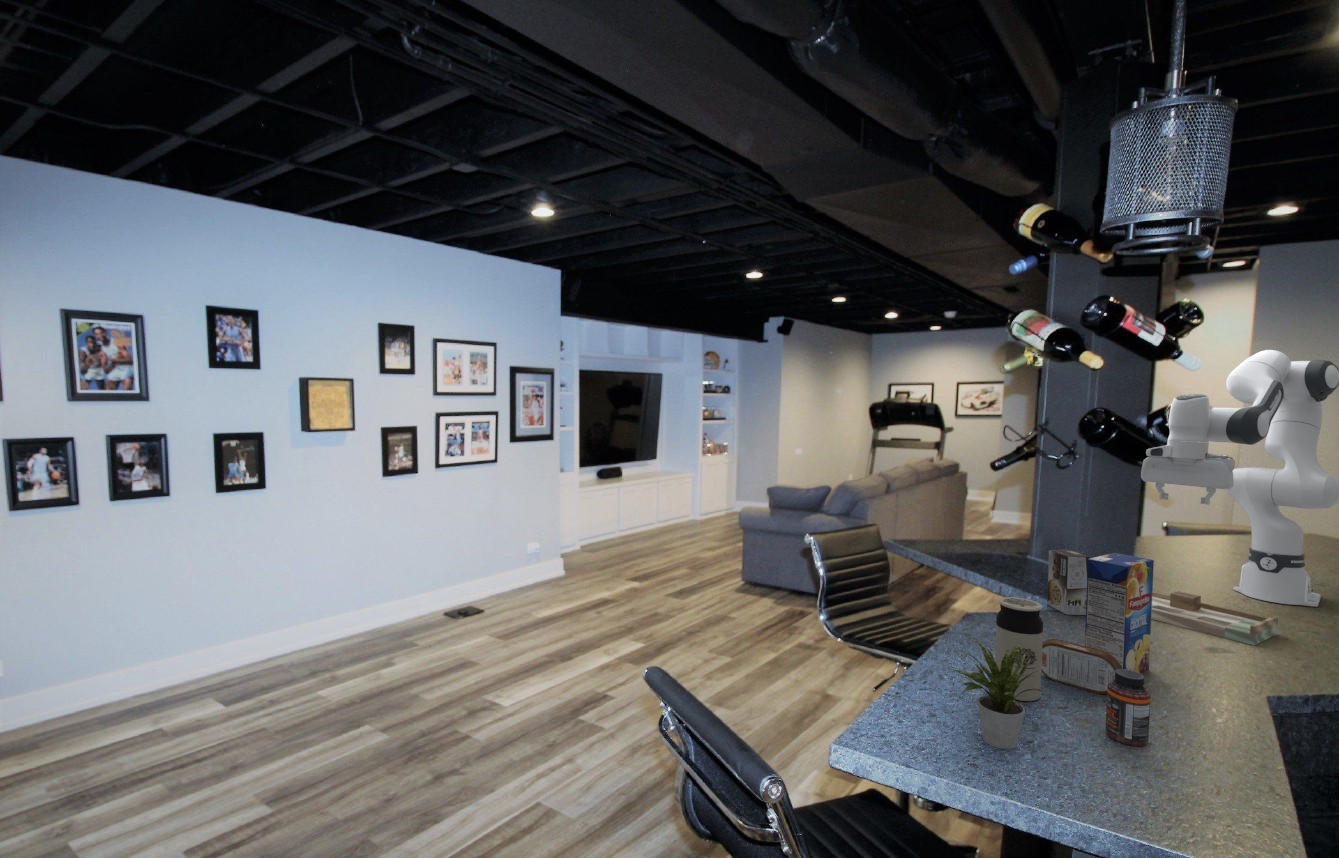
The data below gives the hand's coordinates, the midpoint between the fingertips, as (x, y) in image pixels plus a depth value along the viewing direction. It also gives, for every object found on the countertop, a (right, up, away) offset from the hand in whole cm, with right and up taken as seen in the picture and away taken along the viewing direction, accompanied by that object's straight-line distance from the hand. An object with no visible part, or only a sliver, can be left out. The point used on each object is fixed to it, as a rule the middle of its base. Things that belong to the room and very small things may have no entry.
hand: (1183, 501), depth 174 cm
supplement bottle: (-65, -33, -67) cm, 100 cm away
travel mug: (-75, -32, -51) cm, 96 cm away
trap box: (-4, -31, -8) cm, 32 cm away
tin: (-61, -32, -47) cm, 84 cm away
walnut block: (-3, -28, -4) cm, 29 cm away
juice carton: (-47, -32, -39) cm, 69 cm away
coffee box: (-32, -31, 0) cm, 44 cm away
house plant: (-87, -32, -68) cm, 115 cm away
